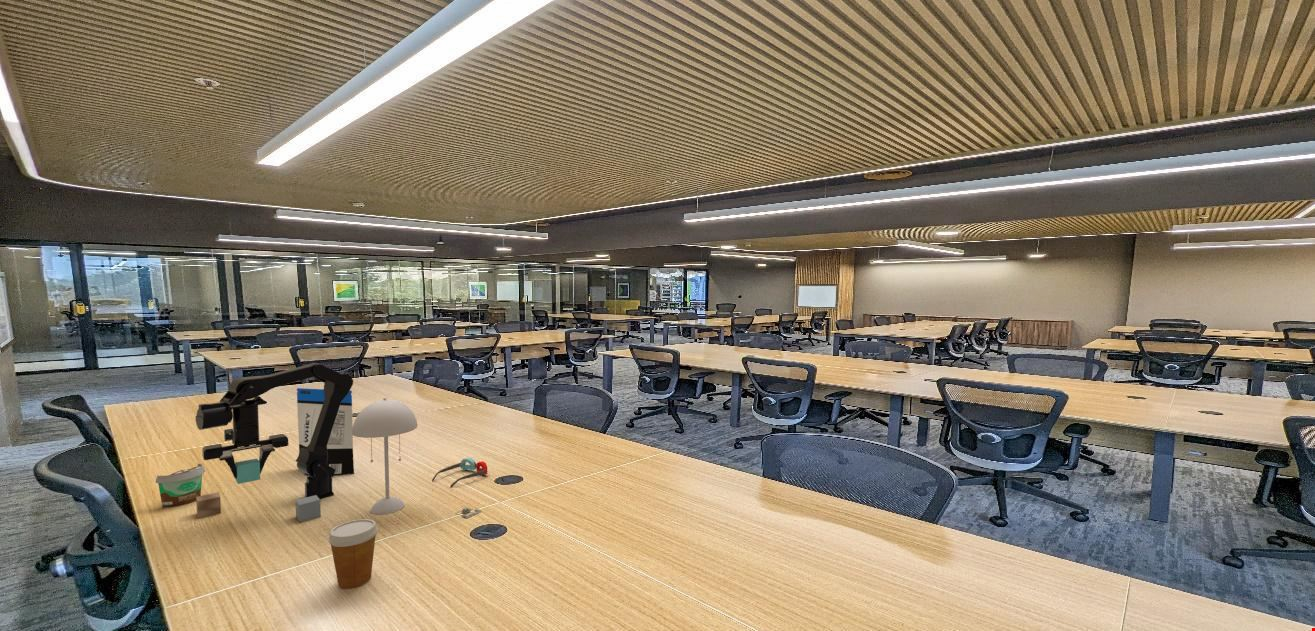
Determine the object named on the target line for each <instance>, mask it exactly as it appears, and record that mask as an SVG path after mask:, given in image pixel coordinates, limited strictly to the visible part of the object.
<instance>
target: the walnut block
mask: <svg viewBox="0 0 1315 631" xmlns="http://www.w3.org/2000/svg"><path fill="white" fill-rule="evenodd" d="M195 502H196V503H195V504H196V515H197V516H196V517H197V519H203V518H207V517H210V516H215V515H218V514H220V515H221V514H222V508H221V507H222V505H221V502H222V500H221V494H220V492H219V491H217V492H213V493H207V494H203V495H202V494H201V496H198V497H196V501H195Z"/></svg>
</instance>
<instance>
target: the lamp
mask: <svg viewBox="0 0 1315 631" xmlns="http://www.w3.org/2000/svg"><path fill="white" fill-rule="evenodd" d="M417 420H418V419H417V417H416V415H415V413H414V412H413V410H412V409H411V408H410V407H409V406H408V405H407V404H405V403H404V402H401V401H399V400H395V399H389V398H388V399H387V397H383V399H380V400H377V401H373V402H371V403H369V404H368V405H365V407H363V408H362V410H360V412H359V413H358V414H357V416H356V417H355V419H354V420H353V428H352V435H353V437H355V438H362V439H365V438H366V439H368V438H370V451H371V452H370V455H371V457H373V446H372V444H373V443H372V441H373V439H374V438H375V439H376V438H383V442H384V443H383V444H384V445H383V451H384V452H383V455H384V481H385V482H384V488H385V497H383V498H380V499H379V500H377V501H376V502H375V503H374V504H373V505H372V506H371V508H370V510H369V512H370V514H373V515H387V514H391V513H395V512H398V511H400V510H402V509H403V508H405V505H406V504H405V502H404V501H403V500H402V499H400V498H398V497H396V496H390V468H389V467H390V466H389V465H390V464H389V459H390V458H389V437H393V436H397V435H398V437H399V438H398V439H399V441H398V443H399V446H398V447H399V452H401V437H400V435H403V434H406V433H410V432H413V431H414V430H416V429H417V428H418V421H417ZM372 438H373V439H372ZM398 461H399V462H401V461H402V458H401V457H399V458H398ZM369 462H370V463H374V460H373V459H370V461H369Z"/></svg>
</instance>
